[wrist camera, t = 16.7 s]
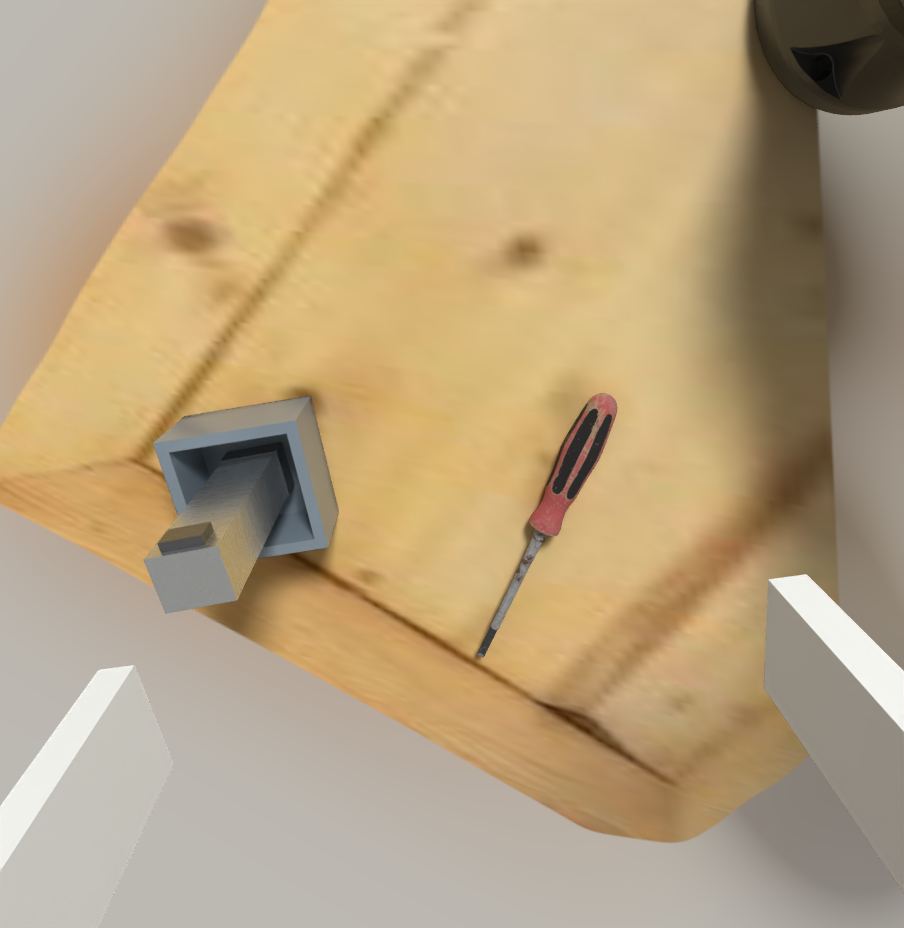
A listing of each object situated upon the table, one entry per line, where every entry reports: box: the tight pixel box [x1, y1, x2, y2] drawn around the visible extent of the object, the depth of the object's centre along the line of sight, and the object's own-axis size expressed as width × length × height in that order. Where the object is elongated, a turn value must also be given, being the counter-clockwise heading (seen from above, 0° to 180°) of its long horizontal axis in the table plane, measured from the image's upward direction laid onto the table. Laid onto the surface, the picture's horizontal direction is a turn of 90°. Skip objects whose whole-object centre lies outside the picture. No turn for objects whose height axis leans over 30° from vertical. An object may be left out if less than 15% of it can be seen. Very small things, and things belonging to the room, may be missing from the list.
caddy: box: [153, 396, 339, 559], centre depth 48 cm, size 10×10×6 cm
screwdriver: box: [477, 393, 617, 657], centre depth 52 cm, size 25×3×3 cm, turn 158°
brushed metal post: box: [144, 442, 295, 613], centre depth 42 cm, size 4×4×16 cm
